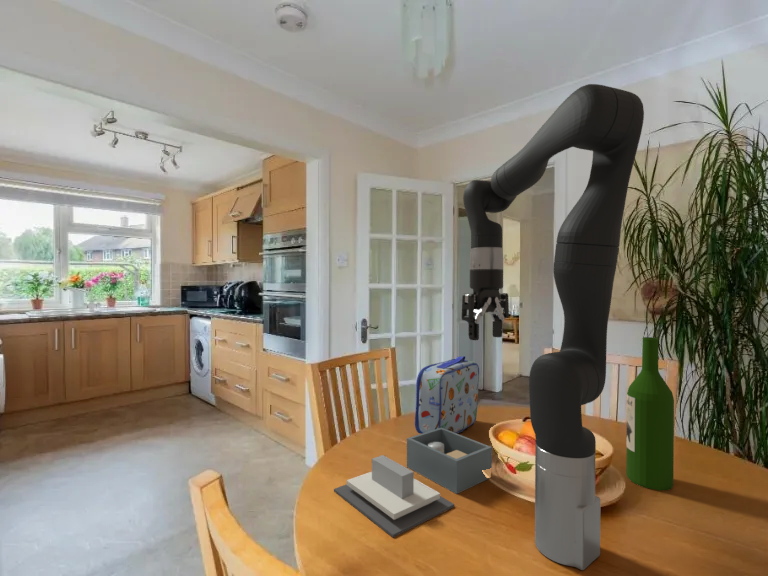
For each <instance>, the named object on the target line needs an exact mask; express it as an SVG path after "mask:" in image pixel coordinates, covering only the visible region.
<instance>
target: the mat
mask: <svg viewBox="0 0 768 576" xmlns="http://www.w3.org/2000/svg"><path fill="white" fill-rule="evenodd" d="M333 492H334V493H335V492H336V495H338V496H339V497H340V498H342V499H343V500H344V501H346V502H347V503H348V504H350V505H351V506H352V507H353V508H354V509H356V510H357V511H358V512H360V513H361V514H362V515H363V516H364V517H366V518H367V519H369V521H371V522H372V523H373V524H375V525H376V526H377V527H379V528H380V529H381V530H382V531H383V532H385V533H386V534H387V535H389V536H390V537H391V538H395V537H398V536H399V535H400V534H403V533H405V532H407V531H409V530H411V529H413V528H415V527H417V526H419V525H421V524H423V523H425V522H427V521H428V520H431V519H432V518H434V517H436V516H439V515H440V514H443V513H444V512H447V511H449V510H451V509H453V508H455V503H453V502H452V501H449V500H448V499H446V498H445V497H443V496H442V495H440V499H437V500H435V501H433V502H432V503H430V504H428V505H425V506H423V507H421V508H419V509H417V510H415V511H413V512H410V513H408V514H406V515H404V516H402V517H400V518H398V519H392V518H391V517H390V516H388V515H387V514H386V513H384V512H383V511H382V510H380V509H379V508H377V507H376V506H375V505H373V504H372V503H371V502H369V501H368V500H367V499H365V498H364V497H362V496H361V495H360V494H358V493H357V492H356V491H354V490H353V489H352V488H350V487H349V486H347V483H346V484H343V485H341V486H338V487H335V488H333Z"/></svg>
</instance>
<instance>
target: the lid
mask: <svg viewBox="0 0 768 576" xmlns="http://www.w3.org/2000/svg"><path fill="white" fill-rule="evenodd" d="M414 472H415V471H413V470H412V469H410V468H408V467H407V466H406V467H405V466H404V465H402V464H400V463H398V462H397V461H395V460H393V459H391V458H389V457H387V456H386V455H384V454H381V455H379V456H376V457H373V458H371V471H369V472H366V473H363V474H361V475H358V476H354V477H352V478H349V479H346V484H347V486H349V487H350V488H352V489H353V490H354V491H356V492H357V493H358V494H360V495H361V496H362V497H364V498H365V499H367V500H368V501H369V502H371V503H372V504H373V505H375V506H376V507H377V508H379V509H380V510H382V511H383V512H384V513H386V514H387V515H388V516H390V517H391V518H392V519H398V518H400V517H402V516H404V515H406V514H408V513H410V512H413V511H415V510H417V509H419V508H421V507H423V506H425V505H428V504H430V503H432V502H433V501H435V500H437V499H440V496H441V493H440V492H439V491H437V490H436V489H434V488H431V486H428V485H426V484H424V483H422V482H421V481H420V480H418V479H416V478H414V475H415V474H414Z"/></svg>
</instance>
